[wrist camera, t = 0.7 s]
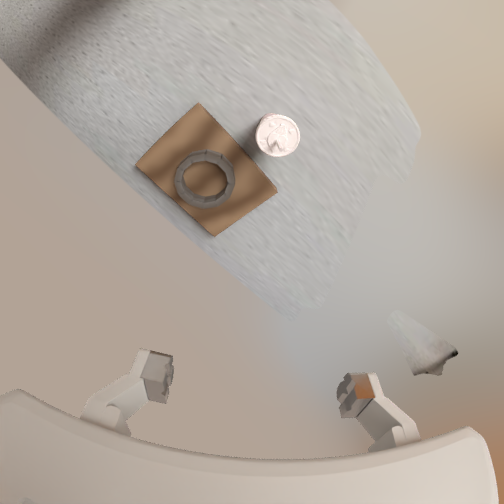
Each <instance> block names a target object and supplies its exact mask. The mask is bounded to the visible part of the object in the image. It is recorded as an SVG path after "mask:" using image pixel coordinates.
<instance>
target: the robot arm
mask: <svg viewBox="0 0 504 504" xmlns="http://www.w3.org/2000/svg"><path fill="white" fill-rule="evenodd" d="M172 362H173V356H171V355H167V354H163V353H159V352H155V351H151V350H147V349H143V348H140V350H139V351H138V353H137V356H136V358H135V361H134V363H133V365H132V368H131V370H130V372H129V375H128V374H125V375H123V376H122V377H120V378H119V379H117V380H116V381H114V382H112V383H111V384H109V385H108V386H106V387H104V388H103V389H101V390H100V391H98V392H96V393H95V394H93V395H92V396H90V397H89V399H88V401H87V403H86V406H85V408H84V410H83V413H82V415H81V417H80V418H77V417H75V416H72V415H70V414H68V413H66V412H64V411H61V410H59V409H57V408H55V407H53V406H51V405H49V404H47V403H45V402H44V401H42V400H40V399H38V398H36V397H34V396H32V395H31V394H29V393H27V392H25V391H24V390H21V389H16V390H13V391H10V392H8V393H5V394H3V395H1V396H0V504H499V501H498V491H497V484H496V478H495V473H494V469H493V465H492V461H491V457H490V454H489V450H488V447H487V444H486V442H485V440H484V438H483V437H482V436H481V435H480V434H479V433H477V432H476V431H475V430H474V429H472V428H471V427H469V426H464V427H461V428H459V429H456V430H453V431H450V432H447V433H445V434H442V435H438V436H436V437H432V438H429V439H426V440H422V441H421V438H420V435H419V433H418V429H417V427H416V424H415V422H414V421H413V420H412V419H411V418H410V417H409V416H407V415H406V414H405V413H404V412H403V411H402V410H401V409H399V408H398V407H397V406H396V405H395V404H394V403H393V402H391V401H390V400H389V399H388V398H387V397H384V395H383V392H382V389H381V386H380V383H379V381H378V378H377V375H376V374H375V373H347V374H346V375H345V376H344V381H343V382H341V383H340V384H339V386H338V388H337V400H338V401H339V402H340V403H341V405H340V407H339V409H340V413H341V418H353V417H354V418H355V417H357V418H356V419H357V420H358V421H359V422H360V423H361V424H362V426H363V427H364V428H365V429H366V431H367V432H368V433H369V434H370V436H371V437H372V438H373V439H374V440H375V443H374V444H373V445H371V446H370V447H369V449H368V451H369V452H368V453H362V454H356V455H348V456H339V457H328V458H314V459H254V458H240V457H239V458H238V457H229V456H220V455H212V454H205V453H198V452H192V451H186V450H181V449H176V448H172V447H167V446H163V445H159V444H155V443H151V442H147V441H143V440H140V439H136V438H133V437H130V436H131V432H130V430H129V428H128V426H127V424H126V420H127V419H128V418H130V417H131V416H132V415H133V414H134V413H135V412H137V411H138V410H139V409H140V408H141V407H142V406H143V405H145V404H146V403H147V402H148V400H151V401H156V402H160V403H165V404H166V402H167V399H168V395H169V386H170V385H171V384H172V379H173V373H174V367H173V365H172Z"/></svg>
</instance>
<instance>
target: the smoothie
mask: <svg viewBox="0 0 504 504" xmlns="http://www.w3.org/2000/svg"><path fill="white" fill-rule="evenodd" d="M255 137H256V142H257V144H258V146H259V148H260V149H261V150H262V151H263V152H264V153H265V154H267V155H269V156H272V157H283V156H286V155H288V154H290V153H292V152H293V151H294V150H295V149H296V147H297V146H298V143H299V140H300V133H299V130H298V127H297V125H296V124H295V122H294V121H292V120H291V119H290V118H288V117H286V116H283V115H277V114H274V113H268V114H266V115H264V116H263V117H262V119H261V122H260V123H259V125H258V127H257V129H256V133H255Z"/></svg>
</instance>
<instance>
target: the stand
mask: <svg viewBox="0 0 504 504" xmlns="http://www.w3.org/2000/svg"><path fill="white" fill-rule="evenodd" d="M135 165H136V166H137V167H138V168H139V169H140V170H141V171H142V172H144V173H145V174H146V175H147V176H148V177H149V178H150V179H151V180H152V181H153V182H154V183H156V184H157V185H158V186H159V187H160V188H161V189H162V190H163V191H164V192H165V193H166V194H168V195H169V196H170V197H171V198H172V199H173V200H174V201H175V202H176V203H177V204H179V205H180V206H181V207H182V208H183V209H184V210H185V211H186V212H187V213H189V214H190V215H191V216H192V217H193V218H194V219H195V220H196V221H197V222H199V223H200V224H201V225H202V226H203V227H204V228H205V229H206V230H207V231H209V232H210V233H211V234H212V235H213V236H214V237H215V236H217V235H218V234H219V233H221V232H222V231H223V230H225V229H226V228H228V227H229V226H230V225H232V224H233V223H235V222H236V221H237V220H239V219H240V218H242V217H243V216H245V215H246V214H247V213H249V212H250V211H252V210H253V209H254V208H256V207H257V206H259V205H260V204H262V203H263V202H264V201H266V200H267V199H269V198H270V197H272V196H273V195H275V194H276V193H278V192H277V188H276V187H275V186H274V184H273V183H272V182H271V181H270V180H269V179H268V177H267V176H266V175H265V174H264V173H263V172H262V171H261V169H260V168H259V167H258V166H257V165H256V164H255V163H254V161H253V160H252V159H251V158H250V157H249V156H248V155H247V154H246V152H245V151H244V150H243V149H242V148H241V147H240V146H239V145H238V144H237V142H236V141H235V140H234V139H233V138H232V137H231V136H230V135H229V134H228V133H227V132H226V130H225V129H224V128H223V127H222V126H221V125H220V124H219V123H218V122H217V121H216V120H215V119H214V118H213V117H212V116H211V115H210V114H209V113H208V111H207V110H206V109H205V108H204V107H203V106H202V105H201V104H200V103H197V104H196V105H195V106H194V107H193V108H192V109H191V110H189V111H188V112H187V113H186V114H185V115H184V116H183V117H182V118H181V119H180V120H178V121H177V122H176V123H175V124H174V125H173V126H172V127H171V128H170V129H169V130H168V131H167V132H166V133H165V134H164V135H163V136H162V137H161V138H160V139H159V140H158V141H157V142H156V143H155V144H154V145H153V146H152V147H151V148H150V149H149V150H148V151H147V152H146V153H145V154H144V155H143V156H142V157H141V159H140V160H139V161H138V162H137V163H136V164H135Z"/></svg>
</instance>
